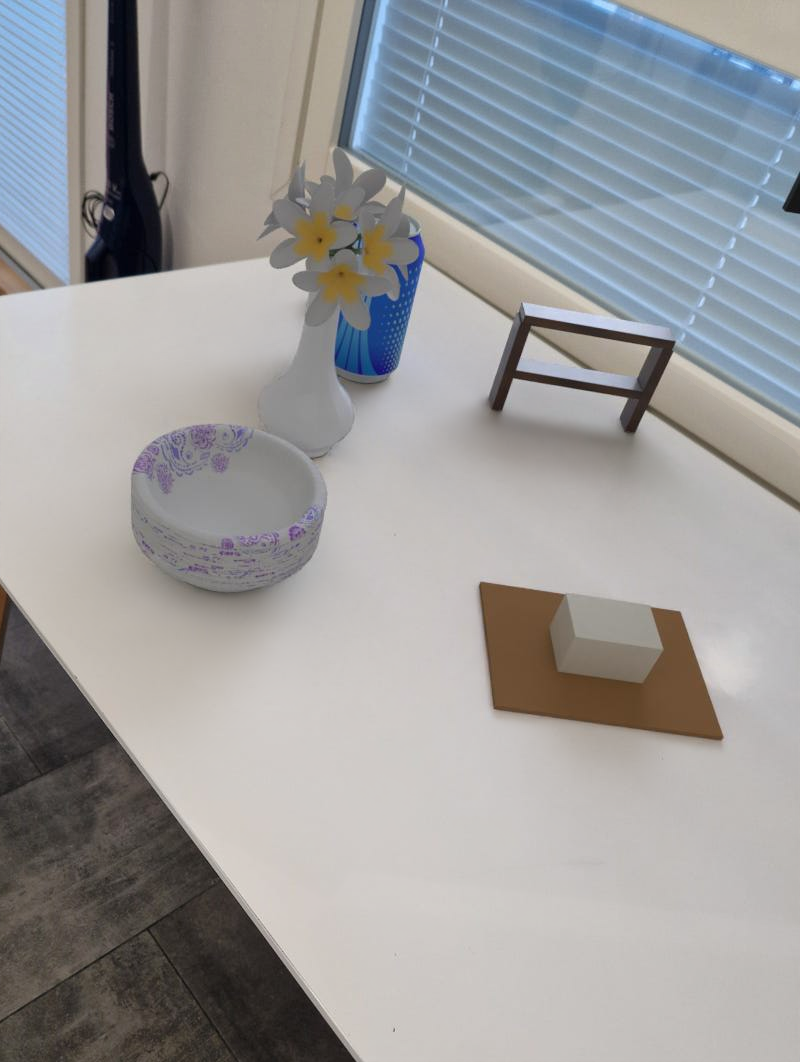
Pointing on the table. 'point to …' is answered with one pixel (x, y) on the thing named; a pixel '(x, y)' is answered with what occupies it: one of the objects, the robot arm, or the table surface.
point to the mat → (538, 688)
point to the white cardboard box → (605, 638)
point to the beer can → (379, 325)
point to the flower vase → (331, 292)
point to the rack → (579, 378)
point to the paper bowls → (226, 506)
